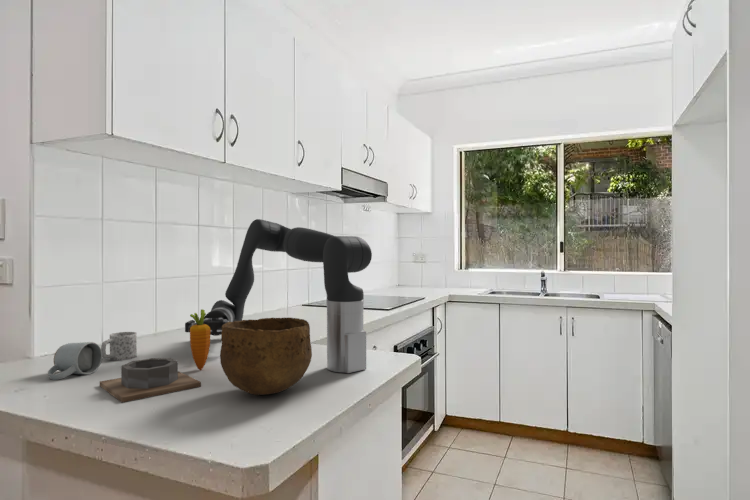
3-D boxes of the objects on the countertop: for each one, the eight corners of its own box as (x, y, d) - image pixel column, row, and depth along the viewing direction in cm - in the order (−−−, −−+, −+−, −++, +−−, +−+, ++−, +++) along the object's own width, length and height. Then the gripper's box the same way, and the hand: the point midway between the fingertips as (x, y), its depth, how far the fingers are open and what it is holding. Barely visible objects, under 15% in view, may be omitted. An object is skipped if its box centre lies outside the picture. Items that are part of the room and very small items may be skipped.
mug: (125, 354, 139) (124, 331, 139) (142, 356, 137) (141, 332, 137) (92, 361, 130) (92, 337, 130) (110, 364, 128) (110, 338, 128)
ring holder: (200, 386, 107) (200, 363, 106) (122, 402, 96) (121, 377, 95) (172, 372, 118) (172, 352, 118) (99, 385, 107) (99, 363, 107)
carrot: (197, 373, 117) (196, 311, 117) (185, 370, 120) (185, 310, 120) (214, 369, 121) (214, 309, 121) (203, 366, 124) (203, 308, 124)
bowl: (282, 375, 115) (282, 313, 115) (329, 393, 101) (328, 322, 101) (204, 391, 103) (204, 321, 103) (245, 414, 89) (245, 332, 89)
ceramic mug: (76, 368, 123) (76, 338, 123) (103, 370, 121) (102, 339, 121) (38, 380, 113) (37, 347, 113) (66, 382, 111) (66, 348, 111)
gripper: (193, 309, 145) (180, 316, 129) (242, 307, 148) (235, 315, 131) (194, 334, 145) (180, 344, 129) (242, 332, 148) (235, 342, 131)
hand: (208, 329), depth 130 cm, fingers open, 8 cm apart
